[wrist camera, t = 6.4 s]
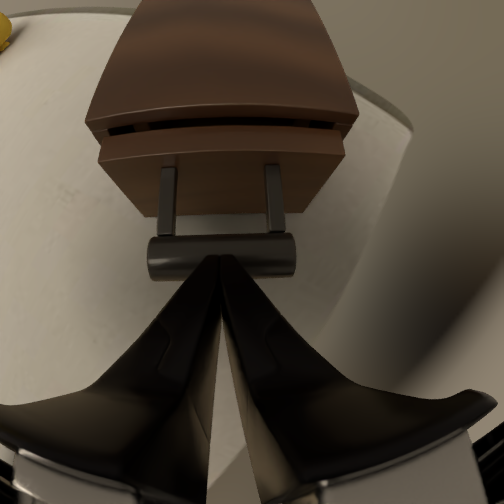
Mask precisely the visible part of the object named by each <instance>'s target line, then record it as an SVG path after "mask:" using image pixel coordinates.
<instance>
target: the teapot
mask: <svg viewBox="0 0 504 504" xmlns="http://www.w3.org/2000/svg"><path fill="white" fill-rule="evenodd" d="M11 30H12V24H11V22H10V20H9V19H8V18H7V17H6V16H5V15H4V14H3V13H1V12H0V52H1V51H2V50H4V49H5V48H6V47H7V46H8V45H9V43H10V42H6V39H7V38H8V37H9V36H10V35H11Z"/></svg>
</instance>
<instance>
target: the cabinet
mask: <svg viewBox="0 0 504 504" xmlns="http://www.w3.org/2000/svg"><path fill="white" fill-rule="evenodd" d="M358 116H359V111H358V108H357V105H356V102H355V99H354V96H353V93H352V90H351V88H350V85H349V82H348V80H347V77H346V74H345V72H344V69H343V67H342V65H341V62H340V60H339V57H338V55H337V53H336V50H335V48H334V46H333V43H332V41H331V39H330V37H329V35H328V33H327V31H326V28H325V26H324V24H323V22H322V20H321V18H320V16H319V14H318V13H317V11H316V9H315V7H314V5H313V3H312V1H311V0H142V1H141V3H140V4H139V6H138V7H137V9H136V10H135V12H134V14H133V15H132V17H131V19H130V20H129V22H128V24H127V26H126V27H125V29H124V31H123V33H122V35H121V36H120V38H119V40H118V42H117V44H116V46H115V48H114V50H113V52H112V54H111V56H110V58H109V60H108V63H107V65H106V67H105V69H104V71H103V74H102V76H101V78H100V81H99V83H98V86H97V88H96V91H95V93H94V96H93V98H92V101H91V104H90V106H89V109H88V112H87V115H86V118H85V124H86V125H87V126H88V128H89V129H90V131H92V134H93V135H94V137H95V138H96V140H97V141H98V143H99V144H100V145H102V141H103V138H104V137H108V136H114V135H120V134H127V133H134V132H136V131H135V129H134V127H133V125H134V124H142V123H150V122H158V121H168V120H180V119H194V118H214V117H270V118H291V119H305V120H311V122H310V124H309V126H308V128H318V129H328V130H337V131H340V133H341V137H342V141H343V140H344V138H345V137H346V135H347V134H348V132H349V131H350V129H351V127H352V124H354V122H355V121H356V119H357V118H358Z"/></svg>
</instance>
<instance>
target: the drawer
mask: <svg viewBox="0 0 504 504" xmlns="http://www.w3.org/2000/svg"><path fill="white" fill-rule="evenodd" d="M310 122H311V120H305V119H291V118H270V117H214V118H194V119H180V120H168V121H158V122H150V123H142V124H134V125H133V127H134V129H135V131H136V132H134V133H127V134H120V135H114V136H108V137H104V138H103V141H102V145H101V149H100V153H99V158H98V163H99V165H100V166H101V167H102V168H103V169H104V171H105V172H106V173H107V174H108V175H109V177H110V178H111V179H112V180H113V181H114V182H115V184H116V185H117V186H118V187H119V188H120V190H121V191H122V192H123V193H124V194H125V195H126V196H127V198H128V199H129V200H130V201H131V202H132V203H133V204H134V206H135V207H136V208H137V209H138V210H139V211H140V212H141V214H142V215H143V216H144V217H157V235H158V236H157V237H152V238H151V239H150V240H149V243H148V248H147V267H148V272H149V275H150V278H151V279H152V280H153V281H185V280H186V279H187V278H188V276H189V275H190V274H191V273H192V272H193V270H194V269H195V268H196V267H197V266H198V264H199V263H200V262H201V261H202V260H203V258H204V257H205V256H206V255H210V254H218V255H219V256H220V255H221V254H233V255H234V256H235V257H236V259H237V260H238V261H239V262H240V264H241V265H242V266H243V267H244V269H245V270H246V271H247V272H248V274H249V275H250V276H251V277H252V279H266V278H288V277H292V276H293V275H294V273H295V269H296V245H295V240H294V237H293V235H292V234H291V233H284V232H285V231H286V227H285V214H284V213H303V212H304V211H305V209H306V208H307V207H308V205H309V204H310V203H311V201H312V200H313V199H314V197H315V196H316V195H317V193H318V192H319V191H320V189H321V188H322V187H323V185H324V184H325V183H326V181H327V180H328V178H329V177H330V176H331V174H332V173H333V172H334V170H335V169H336V168H337V166H338V165H339V164H340V162H341V161H342V159H343V158H344V157H345V150H344V146H343V141H342V137H341V133H340V131H337V130H328V129H318V128H308V126H309V124H310ZM241 213H266V219H267V233H247V234H212V235H182V236H175V229H176V216H181V215H206V214H241Z"/></svg>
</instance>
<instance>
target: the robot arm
mask: <svg viewBox="0 0 504 504" xmlns="http://www.w3.org/2000/svg"><path fill="white" fill-rule="evenodd" d="M222 322H223V329H224V335H225V340H226V346H227V351H228V357H229V362H230V367H231V373H232V378H233V383H234V388H235V393H236V398H237V403H238V407H239V412H240V417H241V421H242V426H243V431H244V435H245V439H246V443H247V448H248V453H249V457H250V460H251V465H252V469H253V473H254V477H255V481H256V485H257V489H258V493H259V497H260V500H261V504H281V503H282V504H504V422H502V423H501V424H499V425H498V426H497V427H495V428H494V429H493V430H491V431H490V432H489V433H487V434H486V435H485V436H483V437H482V438H480V439H479V440H477V441H476V442H475V443H473V444H472V442H471V439H470V437H469V434H468V432H467V429H469V428H470V427H471V426H473V425H474V424H475V423H476V422H478V421H479V420H480V419H482V418H483V417H484V416H486V415H487V414H488V413H489V412H491V411H492V410H493V409H494V408H495V407H496V406H497V404H498V403H497V401H496V400H495V399H494V398H493V397H492V396H490V395H488V394H486V393H484V392H480V391H476V390H472V389H467V390H464V391H462V392H460V393H457V394H455V395H453V396H451V397H448V398H444V399H422V398H416V397H411V396H406V395H401V394H396V393H391V392H387V391H382V390H377V389H373V388H369V387H365V386H361V385H359V384H356V383H354V382H353V381H351V380H349V379H348V378H346V377H345V376H344V375H342V374H341V373H340V372H339V371H338V370H337V369H336V368H334V367H333V366H332V365H331V364H330V363H329V362H328V361H327V360H326V359H325V358H323V357H322V356H321V355H320V354H319V353H318V352H317V351H316V350H315V349H314V348H312V347H311V346H310V345H309V344H308V343H307V342H306V341H305V340H304V339H303V338H302V337H301V336H300V335H299V334H298V333H297V332H296V331H295V330H294V328H293V327H292V326H291V325H290V324H289V323H288V321H287V320H286V319H285V318H284V317H283V315H281V313H280V312H279V311H278V309H277V308H276V307H275V306H274V304H273V303H272V302H271V301H270V300H269V298H268V297H267V296H266V295H265V293H264V292H263V291H262V290H261V288H260V287H259V286H258V285H257V284H256V282H255V281H254V280H253V279H252V277H251V276H250V275H249V274H248V272H247V271H246V270H245V269H244V267H243V266H242V265H241V264H240V262H239V261H238V260H237V259H236V257H235V256H234V255H233V254H221V255H220V256H219V255H218V254H210V255H206V256H205V257H204V258H203V260H202V261H201V262H200V263H199V264H198V266H197V267H196V268H195V269H194V270H193V272H192V273H191V274H190V275H189V276H188V278H187V279H186V280H185V281H184V283H183V284H182V285H181V286H180V287H179V289H178V290H177V291H176V292H175V294H174V295H173V296H172V297H171V299H170V300H169V301H168V302H167V303H166V305H165V306H164V307H163V308H162V310H161V311H160V312H159V313H158V315H157V316H156V318H154V320H153V321H152V322H151V323H150V325H149V326H148V327H147V328H146V329H145V331H144V332H143V333H142V334H141V335H140V337H139V338H138V339H137V340H136V341H135V342H134V343H133V344H132V345H131V346H130V347H129V348H128V349H127V351H126V352H125V353H124V354H123V355H122V356H121V357H120V358H119V359H118V360H117V361H116V362H115V363H114V364H113V365H112V366H111V367H110V368H109V369H108V370H107V371H106V372H105V373H104V374H103V375H102V376H101V377H100V378H99V379H98V380H97V381H96V382H94V383H93V384H92V385H90V386H89V387H87V388H85V389H83V390H81V391H78V392H74V393H70V394H66V395H62V396H58V397H54V398H50V399H46V400H41V401H37V402H32V403H27V404H22V405H3V404H0V443H1V444H2V445H4V446H5V447H7V448H9V449H10V450H12V451H13V452H15V456H14V461H13V466H12V465H10V464H8V463H6V462H5V461H3V460H1V459H0V504H206V495H207V480H208V466H209V452H210V439H211V427H212V415H213V404H214V393H215V383H216V372H217V362H218V353H219V343H220V334H221V323H222Z"/></svg>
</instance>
